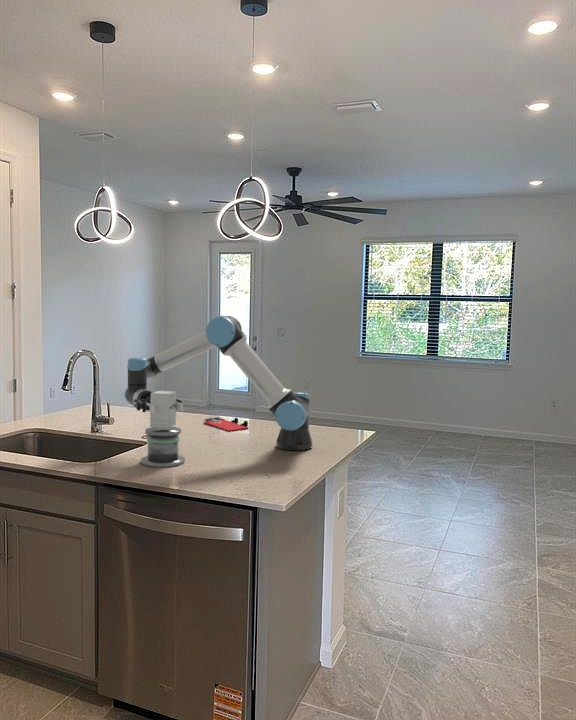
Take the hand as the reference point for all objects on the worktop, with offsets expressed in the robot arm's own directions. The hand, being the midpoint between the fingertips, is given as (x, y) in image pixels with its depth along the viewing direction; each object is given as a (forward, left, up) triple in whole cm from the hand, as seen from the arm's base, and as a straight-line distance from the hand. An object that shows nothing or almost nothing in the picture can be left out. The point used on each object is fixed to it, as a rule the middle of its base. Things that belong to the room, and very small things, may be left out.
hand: (168, 408), depth 211 cm
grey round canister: (+4, -2, -21) cm, 21 cm away
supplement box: (+4, -2, -7) cm, 9 cm away
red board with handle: (+28, -71, -21) cm, 79 cm away
